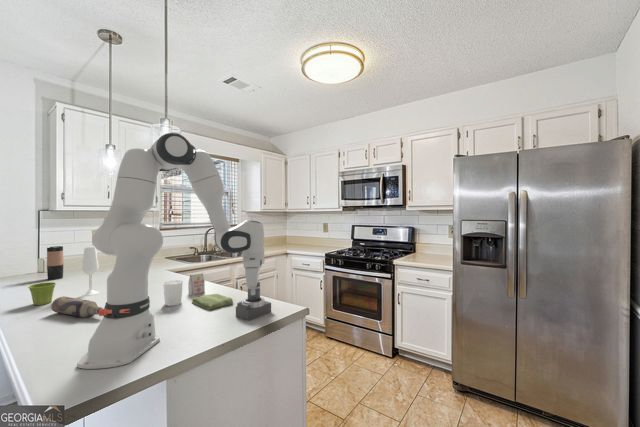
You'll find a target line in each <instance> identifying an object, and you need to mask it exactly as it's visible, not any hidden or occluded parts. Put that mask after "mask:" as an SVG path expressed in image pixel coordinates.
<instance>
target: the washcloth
mask: <svg viewBox="0 0 640 427" xmlns="http://www.w3.org/2000/svg"><path fill="white" fill-rule="evenodd" d="M233 300H234V299H233V298H232V297H229V296H226V295H221V294H219V293H212V294H205V295H204V294H203V295H201V296H199V297H198V296H197V297H196V296H195V297H193V298H192V299H191V304H192V305H195V306H198V307H201V308H202V309H206V310H208V311H211V310H215V309H219V308H221V307H227V306H230V305H233V304H234V301H233Z"/></svg>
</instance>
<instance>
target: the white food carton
mask: <svg viewBox="0 0 640 427" xmlns="http://www.w3.org/2000/svg"><path fill="white" fill-rule="evenodd" d="M187 284H188V289H187V290H188V295H190V296H196V295H199V294H203V293H206V292H205V289H206V288H205V285H206V284H205V277H204V273H203V272H200V273H195V274H190V275H189V279H188V283H187Z"/></svg>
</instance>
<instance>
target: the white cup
mask: <svg viewBox="0 0 640 427" xmlns="http://www.w3.org/2000/svg"><path fill="white" fill-rule="evenodd" d="M162 286H163V298H164V305H165V306H166V307H167V306H168V307H174V306H179V305H181V304H182V296H183V280H181V279H174V280H173V279H172V280H167V281H164V282H163V284H162Z"/></svg>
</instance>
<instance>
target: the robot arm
mask: <svg viewBox="0 0 640 427" xmlns="http://www.w3.org/2000/svg"><path fill="white" fill-rule="evenodd" d="M177 168H179V169H180V170H182V172H184V173H185V175H186V176H187V178H188V180H189V184H190V186H191V188H192V190H193V191H194V193H195V195H196V196H197V198H198V200H199V201H200V203H201V204H202V205H203V207H204V208H205V210H206V212H207V214H208V216H209V219H210V222H211V224H212V228H213V230H214V231H213V232H214V236H213V237H214V245H215V246H216V247H217V248H218V249H219V250H221V251H223V252H225V253H227V254H236V253H241V252H242V265H243V266H242V267H243V268H244V272H245V283H246V287H250V290H251V295H255V293H256V290H255V289H256V286H257V282H259V278H260V276H261V275H260V274H261V273H260V271H261V270H260V269H261V268H262V265H263V264H265V249H264V245H265V231H264V225H263V224H262V223H261V222H260V221H256V220H249V219H246V220H244V221H243V222H241V223H240V224H237V225H236V226H234V227H232V226H231V224H230V222H229V220H228V217H227V215H226V212H225V209H224V207H223V199H224V198H223V197H224V193H225V189H224V188H225V187H224V184H223V180H222V177H221V175H220V172H219V171H218V168H217V166H216V165H215V161H213V159H212V158H211V156H210V154H209V153H208V152H207V151H205V150H201V149H196V146H194V145H193V144H192V143H191V142H190V141H189V140H188V139H187V138H186V137H185V136H184V135H182V134H180V133H177V132H168V133H165V134H163V135H161V136H160V137H159V138H158V139H157V140H155V141H154V142H153V144H152V145H151V147H150V148H149V149H143V148H137V147H136V148H131V149H127V151H126V152H125V153H124V155H123V156H122V159H121V162H120V165H119V168H118V172H117V177H116V180H115V181H116V182H115V186H114V187H115V188H114V192H113V198H112V202H111V205H110V207H109V209H108V212H107V214H106V216H105V218H104V220H103V222H102V223H101V225H100V226H99V227H98V228H97V229H96V230H95V231H94V233H93V235H92V244H93V247H95V248H96V250H97V251H99V252H101V253H103V254H105V255H108V256H113V257H116V258H115V264H114V266H113V270H112V272H111V273H109V274H108V276H107V277H106V302H105V305H104V307H103V309H100V310H99V313H98V316H99V317H103V318H102V320H101V322H100V323H99V324H98V326H97V327H96V329H95V331H94V333H93V335H92V336H91V338H90V339H89V342H88V346H87V347H88V349H87V351H86V353H85V354H84V355H83V356H82V357H81V358H80V359H79V360H78V362H77V363H76V368H79V369H84V370H92V369H93V370H96V369H97V370H98V369H108V368H115V367H120V366H124V365H129V364H130V363H132V362H133V361H135V360H136V359H137V358H139V357H141V356H142V354H144V353H145V352H147V351H148V350H149V349H150V348H152V347H154V346H155V345H156V344H157V343H159V342H160V341H161V338H160V336H158V335H156V325H155V316H154V314H152V312H151V310H150V306H151V305H150V303H151V299H150V296H149V290H148V289H149V273H150V268H151V265H152V262H153V260H154V257H156V255H157V254H158V253H159V252H160V251H161V249H162V248H163V245H164V237H163V234H162V232H161V231H160V229H158V228H157V227H155V226H152V225H150V224H146V223H142V222H143V219H144V218H145V216H146V214H147V213H148V212H149V211H151V209H152V208H153V206H154V201H155V200H154V199H155V194H156V193H155V192H156V186H157V179H158V177H157V176H158V174H159V172H169V171H174V170H175V169H177Z"/></svg>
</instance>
